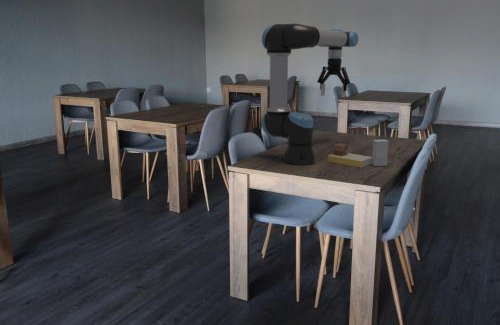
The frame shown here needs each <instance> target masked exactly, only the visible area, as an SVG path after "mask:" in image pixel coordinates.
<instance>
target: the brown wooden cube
mask: <svg viewBox="0 0 500 325" xmlns="http://www.w3.org/2000/svg"><path fill="white" fill-rule="evenodd" d="M348 153H349V144H346V143H336V144H333V153H332V154H333V155H338V156H345V155H348Z"/></svg>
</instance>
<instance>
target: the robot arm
mask: <svg viewBox="0 0 500 325" xmlns="http://www.w3.org/2000/svg"><path fill="white" fill-rule="evenodd" d="M261 42H262V45H263V48H264V49H265V50H266V54H267V55H268V56H269V107H268V108H267V109H266V113H264V114H263V117H262V119H261V127H262V130H263V132H264V133H265V134H266V135H267V136H271V137H274V138H283V139H287V141H288V142H287V147H286V151H285V152H284V153H285V154H284V155H283V161H284V163H285V164H289V165H295V166H308V165H314V164H315V163H316V156H315V153H314V148H313V138H314V137H313V135H314V134H313V133H314V118H313V116H312V115H310V114H308V113H305V112H298V111H297V112H296V111H295V112H291V109H290V108H289V107H288V79H289V78H288V72H289V71H288V69H289V67H288V66H289V56H290V55H291V54H292V50H300V49H308V48H315V47H316V46H317V47H321V48H328V50H327V58H328V59H327V66H322V70H321V72H320V75H319V77H318V79H317V83H319V89H320V96H321V97H322V96H323V97H324V96H326V95H325V93H326V84H325V83H326V81H327V80H328V78H330V76H337V78H338V79H339V80H340V82H341V83H342V85H341V94H340V95H341V96H340V97H341V98H346V92H347V91H348V90H347V88H348V85H350V84H351V81H350V78H349V74H348V72H347V67H345V66H343V67H342V66H341V65H342V56H343V54H342V53H343V48H346V47H347V48H348V47H349V48H351V47H356V46H357V45H358V43H359V34H358V32H356V31H344V30H342V29H341V28H335V29H334V28H331V29H320V28H318V27H316V26H312V25H311V26H309V25H305V24H301V23H274V24H270V25H267V27H266V28H265V29H264V30H263V32H262V37H261Z"/></svg>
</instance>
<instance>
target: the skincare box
mask: <svg viewBox="0 0 500 325" xmlns="http://www.w3.org/2000/svg"><path fill="white" fill-rule="evenodd" d="M388 153H389V140H387V139H373V142H372V156H371V157H372V164H371V165H373V166H374V167H385V166H387V165H388V157H389V154H388Z"/></svg>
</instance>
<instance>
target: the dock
mask: <svg viewBox="0 0 500 325" xmlns="http://www.w3.org/2000/svg"><path fill="white" fill-rule="evenodd" d="M327 162H329V163H333V164H340V165H343V166H344V165H345V166H348V167H349V166H350V167H355V168H364V167H366V166H369V165H373V164H372V156H370V155H369V156H367V155H362V154H355V153H351V152H348V155H345V156H338V155H333V153H331V154H329V155H327Z"/></svg>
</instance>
